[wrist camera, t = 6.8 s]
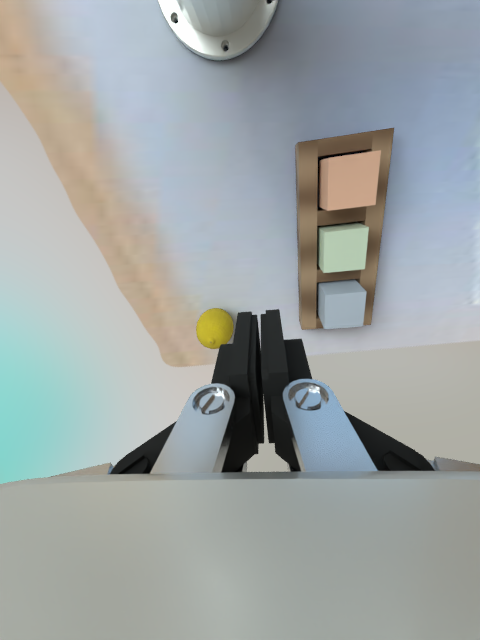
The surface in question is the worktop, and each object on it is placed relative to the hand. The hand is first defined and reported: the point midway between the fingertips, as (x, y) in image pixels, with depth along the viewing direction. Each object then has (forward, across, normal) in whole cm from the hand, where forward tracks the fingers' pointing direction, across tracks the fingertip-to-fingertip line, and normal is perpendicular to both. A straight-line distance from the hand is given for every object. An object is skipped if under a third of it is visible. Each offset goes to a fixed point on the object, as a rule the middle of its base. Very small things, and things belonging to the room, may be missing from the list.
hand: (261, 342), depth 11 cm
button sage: (+29, -10, +3) cm, 31 cm away
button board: (+29, -10, +3) cm, 31 cm away
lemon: (+29, +8, +13) cm, 33 cm away
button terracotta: (+27, -10, -5) cm, 30 cm away
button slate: (+27, -10, +11) cm, 31 cm away
